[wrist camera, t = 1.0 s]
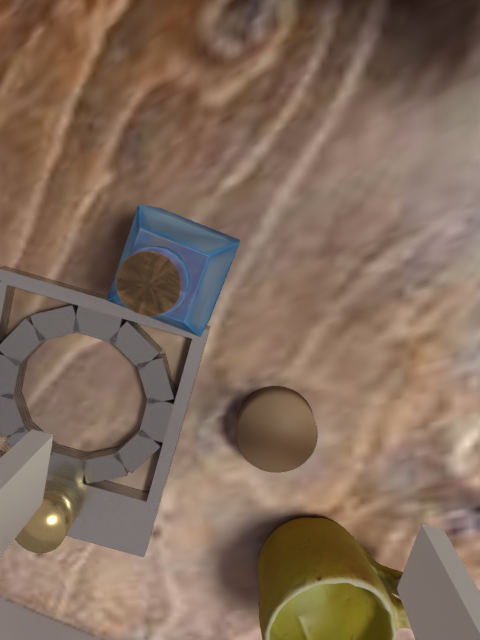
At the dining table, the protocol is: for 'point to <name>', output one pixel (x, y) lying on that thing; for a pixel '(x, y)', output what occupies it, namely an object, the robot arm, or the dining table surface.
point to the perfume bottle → (172, 269)
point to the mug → (325, 586)
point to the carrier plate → (94, 468)
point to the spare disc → (276, 429)
